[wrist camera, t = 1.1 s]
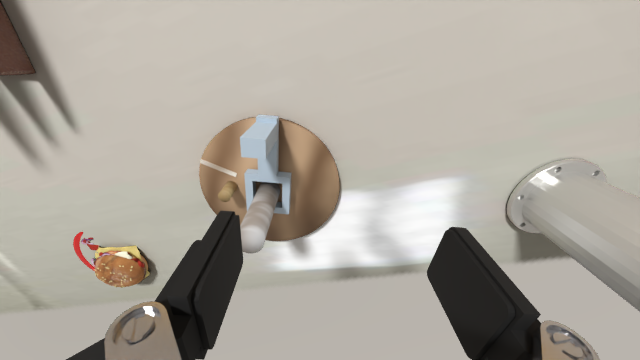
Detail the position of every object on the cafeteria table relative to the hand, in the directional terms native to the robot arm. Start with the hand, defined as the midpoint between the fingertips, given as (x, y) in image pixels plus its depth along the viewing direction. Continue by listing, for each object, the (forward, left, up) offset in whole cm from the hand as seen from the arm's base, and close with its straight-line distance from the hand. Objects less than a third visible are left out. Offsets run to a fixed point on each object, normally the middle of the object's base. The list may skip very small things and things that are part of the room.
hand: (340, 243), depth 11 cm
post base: (+7, +10, -22) cm, 25 cm away
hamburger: (+36, +28, -23) cm, 51 cm away
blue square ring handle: (+7, +6, -21) cm, 23 cm away
